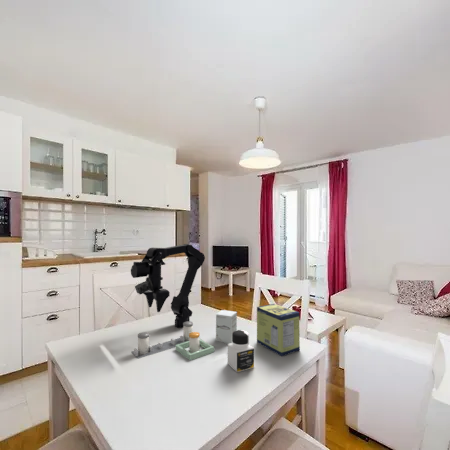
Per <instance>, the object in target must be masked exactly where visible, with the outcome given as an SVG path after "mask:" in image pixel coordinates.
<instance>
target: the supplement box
mask: <svg viewBox="0 0 450 450" xmlns="http://www.w3.org/2000/svg"><path fill="white" fill-rule="evenodd" d="M237 318H238V311H233V310H226V309H221V310H219V312H216V314H215V319H216V320H215V341H216V342H221V343H222V344H225V345H226V346H228V344H230V343H232V334H233V332H234V331H237V330H238V329H237V327H238V326H237V325H238V324H237V323H238V322H237V321H238V320H237Z"/></svg>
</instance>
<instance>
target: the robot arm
mask: <svg viewBox="0 0 450 450" xmlns="http://www.w3.org/2000/svg"><path fill="white" fill-rule="evenodd" d="M178 254H179V255H180V254H184V255H185V256H186V257H187V265H188V266H187V267H188V268H187V269H186V273H185V276H184V279H183V282H182V285H181V287H180V290H179V293H178V294H177V295H176V296H175V295H174V296H173V297H172V301H171V303H170V309H171V311H172V312H173V315H175V319H174V328H177V329H180V328H181V329H183V323H184V322H187V321H190V319H191V318H190V317H192V315H193V311H192V310H191V309H190V308H189V305H190V300H189V296H190V292H191V289H192V287H193V284H194V282H195V278H196V275H197V272H198V270H199V269H200V268H201V267H202V266H203V264H204V262H205V259H206V257H205V254H204V253H203V252H201V251H200V250H199V249H197V248H195V247H194V246H193V245H192V244H190V243H184V244H179V245H174V246H168V247H149V248H148V249H147V251H146V254H145V255H144V257H143V258H142V260H141V261H133V264H132V266H131V267H130V275H131V277H132V278H134V279H136V278H142V277H143V278H144V277H146V278H145V281H142V282H140V283H138V284H136V285H134V288H135V291H136V294H138V295H144V296H145V298H146V302H147V305H148V308H152V307H153V303H154V300H155V304H156V311H157V313H160V312H161V310H162V309H163V307H164V304H165V302H166V300H167V299H168V298H169V297H170V294H171V293H170V291H169V290H168V289H166V288H164V287H163V285H162V281H163V279H164V278H163V277H162V266H163V265H164V266H165V265H166V262H165V261H163V260H164V259H166V258H167V257H169V256H174V255H178ZM190 322H191V321H190Z"/></svg>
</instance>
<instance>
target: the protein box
mask: <svg viewBox="0 0 450 450" xmlns="http://www.w3.org/2000/svg"><path fill="white" fill-rule="evenodd" d="M300 337H301V336H300V311H296V310H294V309H290V308H287V307H285V306H282V305H279V304H276V303H271V304H266V305H260V306H256V343H257V344H259V345H261V346H262V347H264V348H266V349H268V350H270V351H271V352H273V353H274V354H276V355H278V356H280V357H283V356H284V357H285V356H287V355H289V354H292V353H294V352H295V353H296V352H298V351H300V348H301V347H300V343H301V342H300Z"/></svg>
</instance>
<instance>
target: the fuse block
mask: <svg viewBox="0 0 450 450" xmlns="http://www.w3.org/2000/svg"><path fill="white" fill-rule="evenodd" d="M193 325H194V323H193V321H187V322H184V323H183V328H182V329H183V334H182V335H180V336H179V337H177V338H173V337H172V338H170V340H168V341H164V342H162V341H158V342H157V343H158V344H154V345H151V344H150V343H149V342H150V333H149V332H147V331H143V332H139V333H138V334H137V348H134V349H133V350H132V351H131V354H133V356H134V357H135V358H136V359H141V358H145V357H149V356H150V355H154V354H157V353H161V352H164V351H168V350H171V349H176V345H177V344H180V343H184V342H187V341H189V333H192V332H194V331H193V328H194V326H193Z"/></svg>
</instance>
